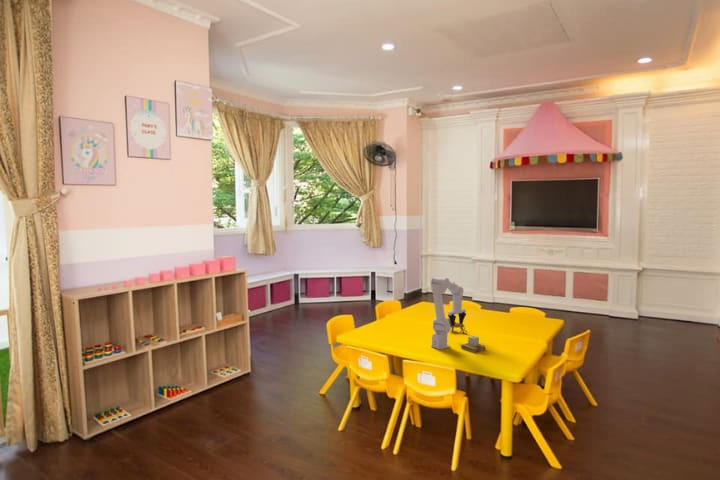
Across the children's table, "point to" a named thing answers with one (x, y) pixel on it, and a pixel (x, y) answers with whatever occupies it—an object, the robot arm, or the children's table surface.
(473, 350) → the walnut plinth
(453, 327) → the lion figurine
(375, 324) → the children's table surface
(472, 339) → the sage block
